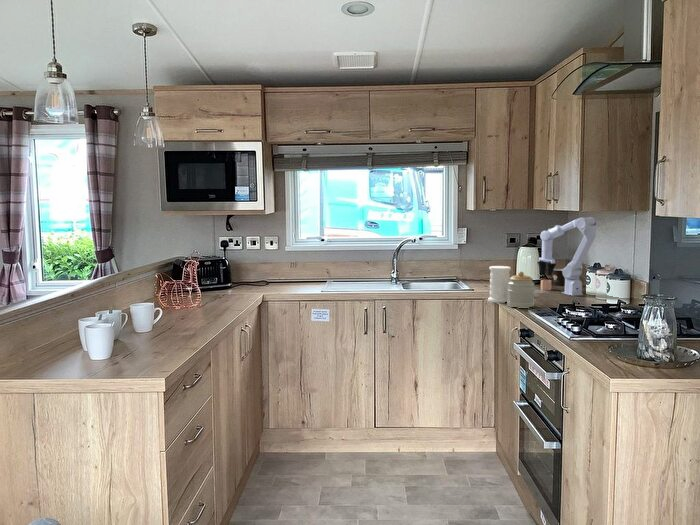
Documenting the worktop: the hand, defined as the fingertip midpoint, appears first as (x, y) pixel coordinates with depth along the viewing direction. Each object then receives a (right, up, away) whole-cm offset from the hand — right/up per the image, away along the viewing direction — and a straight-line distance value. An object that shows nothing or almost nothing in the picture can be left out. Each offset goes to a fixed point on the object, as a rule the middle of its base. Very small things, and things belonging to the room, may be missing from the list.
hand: (546, 274), depth 319 cm
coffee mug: (+14, -7, +19) cm, 25 cm away
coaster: (-7, -10, -6) cm, 14 cm away
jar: (-30, -15, -46) cm, 57 cm away
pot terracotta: (0, -9, +1) cm, 10 cm away
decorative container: (-36, -14, -30) cm, 49 cm away
